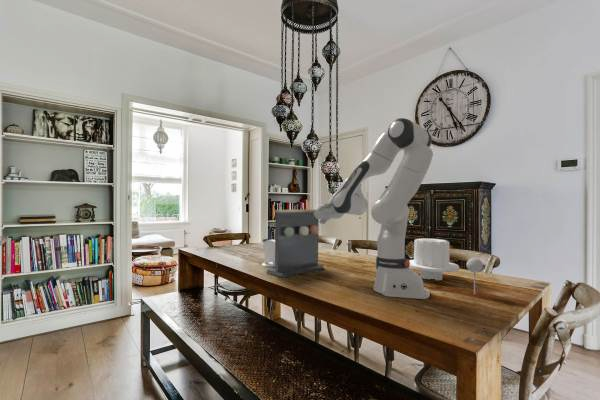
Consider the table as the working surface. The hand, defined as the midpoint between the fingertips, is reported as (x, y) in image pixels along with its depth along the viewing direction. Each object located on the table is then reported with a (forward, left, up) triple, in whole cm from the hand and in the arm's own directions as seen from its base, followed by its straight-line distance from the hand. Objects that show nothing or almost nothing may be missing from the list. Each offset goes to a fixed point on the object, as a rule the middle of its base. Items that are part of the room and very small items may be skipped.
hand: (321, 222), depth 162 cm
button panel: (+13, +1, -26) cm, 30 cm away
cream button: (+9, +3, -7) cm, 12 cm away
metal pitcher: (+34, -7, -27) cm, 44 cm away
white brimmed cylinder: (-53, -17, -27) cm, 62 cm away
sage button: (+14, +12, -7) cm, 19 cm away
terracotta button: (+7, -7, -7) cm, 13 cm away
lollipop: (-70, +7, -27) cm, 75 cm away
